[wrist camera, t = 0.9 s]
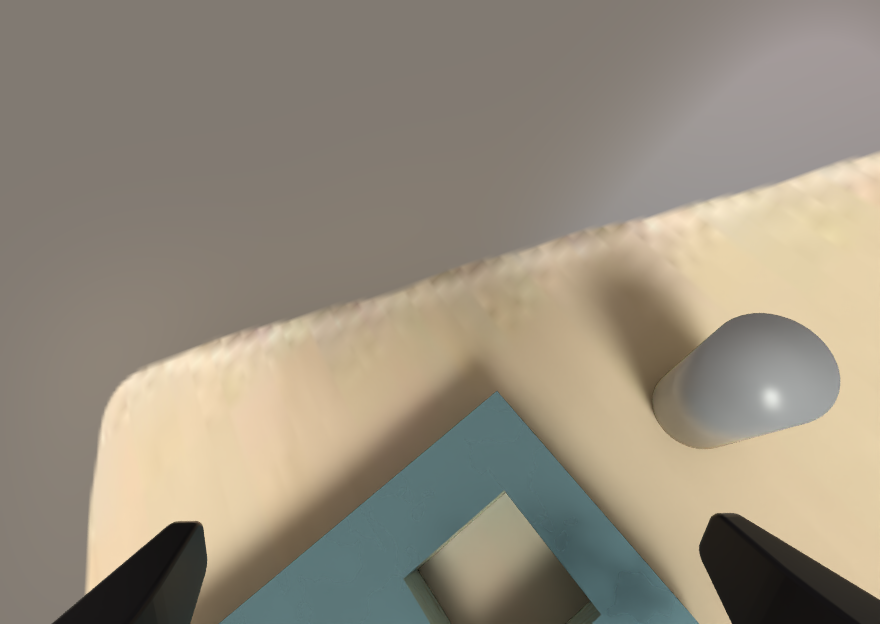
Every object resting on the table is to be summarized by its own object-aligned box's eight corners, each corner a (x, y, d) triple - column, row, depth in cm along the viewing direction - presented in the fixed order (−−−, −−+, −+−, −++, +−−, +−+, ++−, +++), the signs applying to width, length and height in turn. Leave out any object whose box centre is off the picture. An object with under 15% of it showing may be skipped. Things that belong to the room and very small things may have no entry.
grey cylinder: (759, 412, 23) (868, 372, 16) (701, 466, 23) (785, 451, 15) (690, 352, 25) (759, 292, 18) (634, 401, 24) (681, 360, 17)
